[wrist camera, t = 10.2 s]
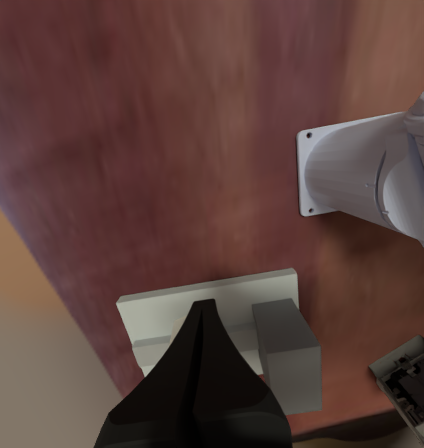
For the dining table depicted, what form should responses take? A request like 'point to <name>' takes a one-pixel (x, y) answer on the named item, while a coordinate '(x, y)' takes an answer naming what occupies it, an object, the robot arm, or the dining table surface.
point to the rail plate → (239, 330)
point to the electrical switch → (405, 382)
